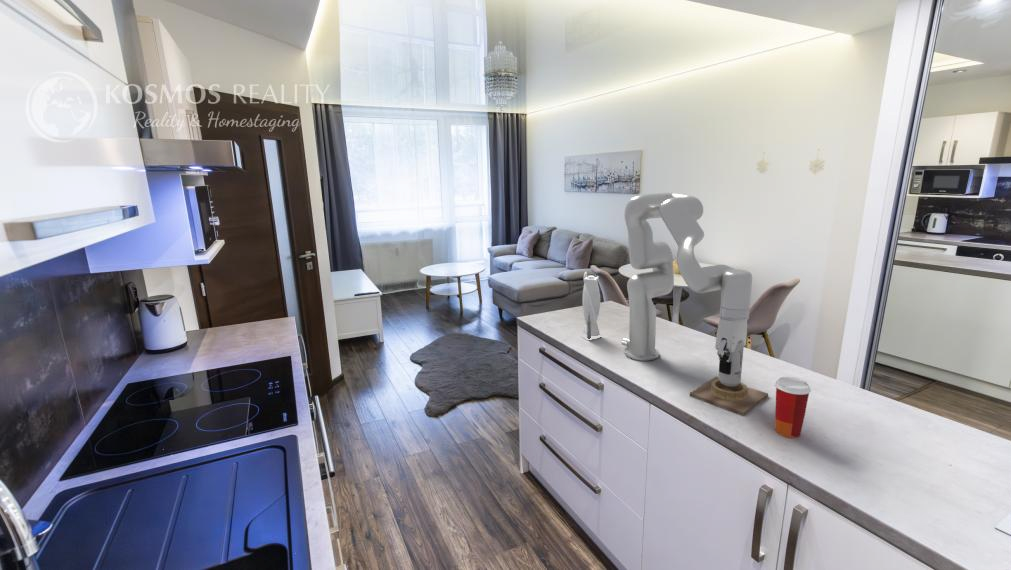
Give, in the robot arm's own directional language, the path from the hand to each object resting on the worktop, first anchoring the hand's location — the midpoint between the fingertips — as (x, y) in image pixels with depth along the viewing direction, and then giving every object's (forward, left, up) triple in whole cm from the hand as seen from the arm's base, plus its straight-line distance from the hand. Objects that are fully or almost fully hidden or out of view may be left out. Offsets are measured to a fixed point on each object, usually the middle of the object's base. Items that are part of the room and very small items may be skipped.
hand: (730, 369), depth 132 cm
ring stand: (0, 0, -9) cm, 9 cm away
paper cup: (+19, -8, -9) cm, 23 cm away
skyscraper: (-64, +11, -9) cm, 65 cm away
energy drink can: (0, 0, -5) cm, 5 cm away
